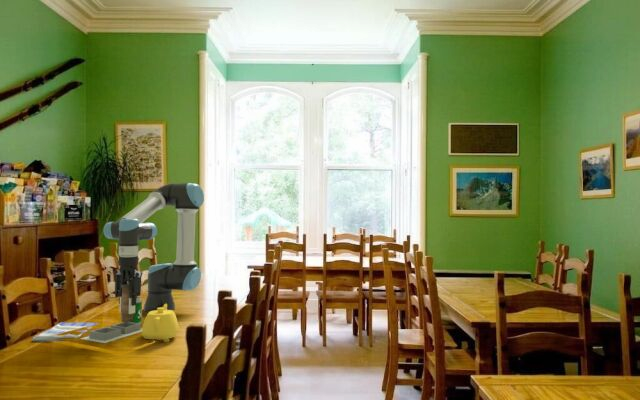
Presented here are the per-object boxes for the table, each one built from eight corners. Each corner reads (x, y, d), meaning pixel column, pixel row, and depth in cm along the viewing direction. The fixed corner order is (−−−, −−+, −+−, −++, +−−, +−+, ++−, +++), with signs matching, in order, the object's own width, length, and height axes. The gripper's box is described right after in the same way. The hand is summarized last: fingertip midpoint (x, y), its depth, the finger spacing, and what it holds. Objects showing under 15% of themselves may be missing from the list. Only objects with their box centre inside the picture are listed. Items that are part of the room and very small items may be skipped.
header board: (125, 328, 194) (125, 319, 194) (148, 332, 189) (148, 323, 189) (79, 341, 174) (80, 331, 174) (104, 346, 169) (104, 336, 169)
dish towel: (30, 343, 173) (30, 335, 173) (60, 327, 197) (60, 320, 197) (77, 343, 175) (77, 335, 175) (101, 327, 198) (101, 320, 198)
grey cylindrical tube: (127, 318, 190) (128, 282, 191) (136, 319, 188) (137, 283, 189) (117, 321, 186) (118, 284, 186) (126, 322, 184) (127, 285, 184)
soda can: (134, 328, 195) (135, 300, 195) (119, 327, 197) (119, 299, 197) (144, 324, 202) (145, 297, 203) (129, 322, 204) (130, 296, 204)
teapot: (181, 331, 191) (182, 302, 191) (173, 345, 171) (174, 312, 171) (148, 332, 189) (148, 302, 189) (136, 346, 169) (137, 313, 169)
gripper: (105, 255, 188) (104, 312, 187) (137, 258, 180) (135, 316, 180) (120, 254, 194) (119, 308, 194) (151, 256, 187) (150, 313, 187)
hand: (127, 312), depth 187 cm, fingers closed on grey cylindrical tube, 4 cm apart
